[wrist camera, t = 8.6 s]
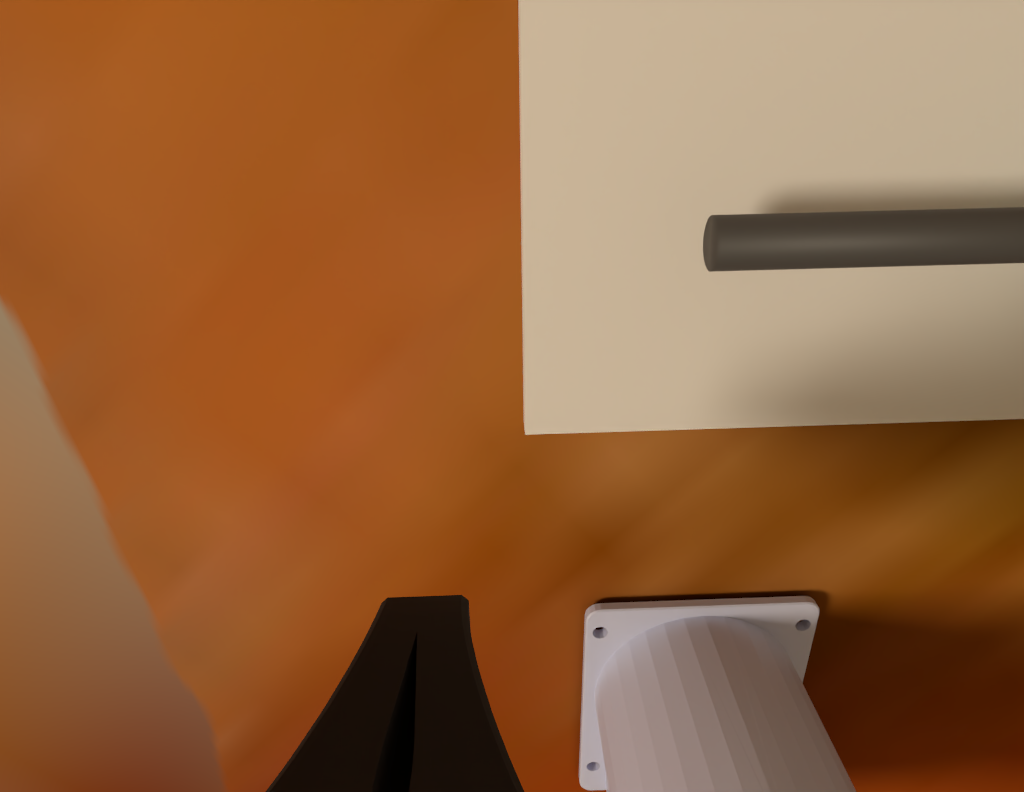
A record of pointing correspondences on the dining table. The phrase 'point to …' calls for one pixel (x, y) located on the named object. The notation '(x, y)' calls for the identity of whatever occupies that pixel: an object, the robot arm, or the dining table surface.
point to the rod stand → (771, 213)
